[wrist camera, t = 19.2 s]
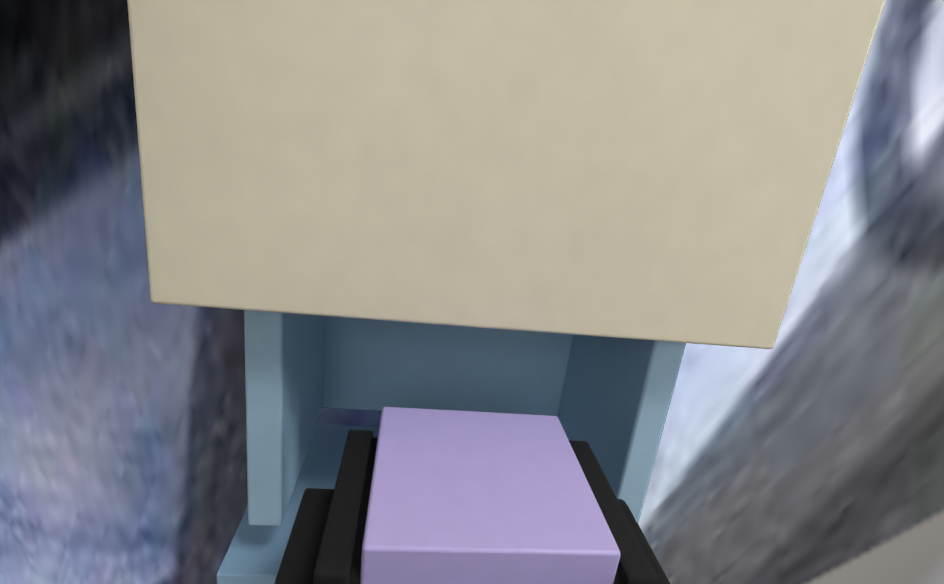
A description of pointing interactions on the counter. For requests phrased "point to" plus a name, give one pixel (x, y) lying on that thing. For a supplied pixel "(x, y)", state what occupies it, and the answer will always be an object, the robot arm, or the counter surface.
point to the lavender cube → (481, 503)
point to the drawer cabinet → (493, 158)
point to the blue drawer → (429, 403)
